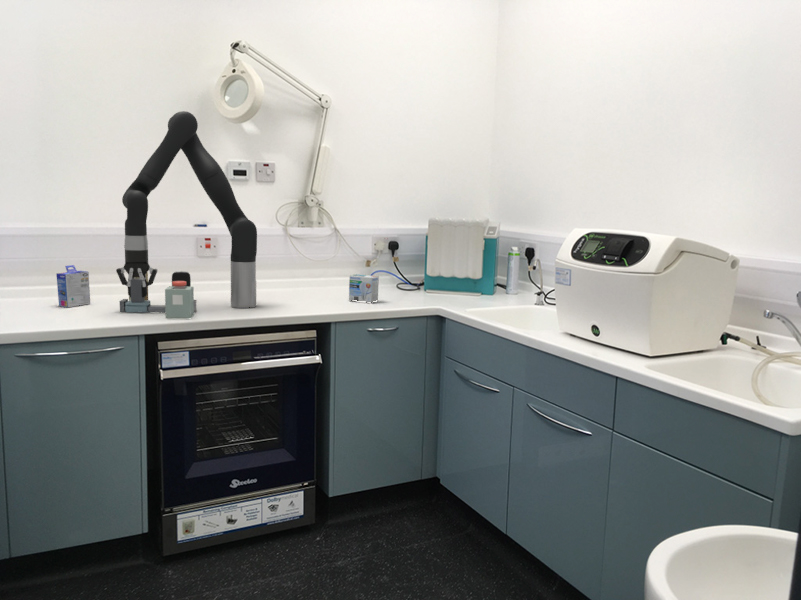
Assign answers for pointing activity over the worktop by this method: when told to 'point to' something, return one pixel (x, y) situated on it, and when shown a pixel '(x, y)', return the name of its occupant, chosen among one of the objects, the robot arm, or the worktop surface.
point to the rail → (149, 307)
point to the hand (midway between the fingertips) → (137, 296)
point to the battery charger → (182, 277)
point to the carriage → (136, 298)
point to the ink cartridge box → (73, 287)
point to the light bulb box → (363, 288)
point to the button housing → (179, 302)
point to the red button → (179, 284)
